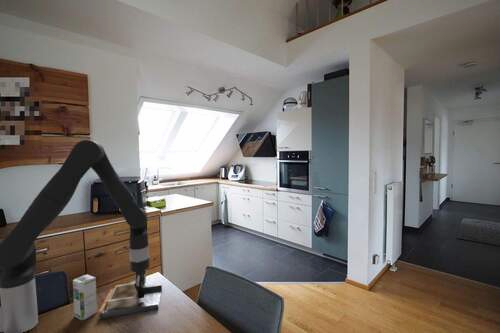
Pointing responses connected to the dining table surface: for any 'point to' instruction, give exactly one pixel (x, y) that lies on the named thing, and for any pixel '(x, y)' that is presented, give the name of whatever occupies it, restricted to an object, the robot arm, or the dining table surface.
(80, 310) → the syrup box
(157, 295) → the bay
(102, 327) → the dining table surface
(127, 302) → the box
